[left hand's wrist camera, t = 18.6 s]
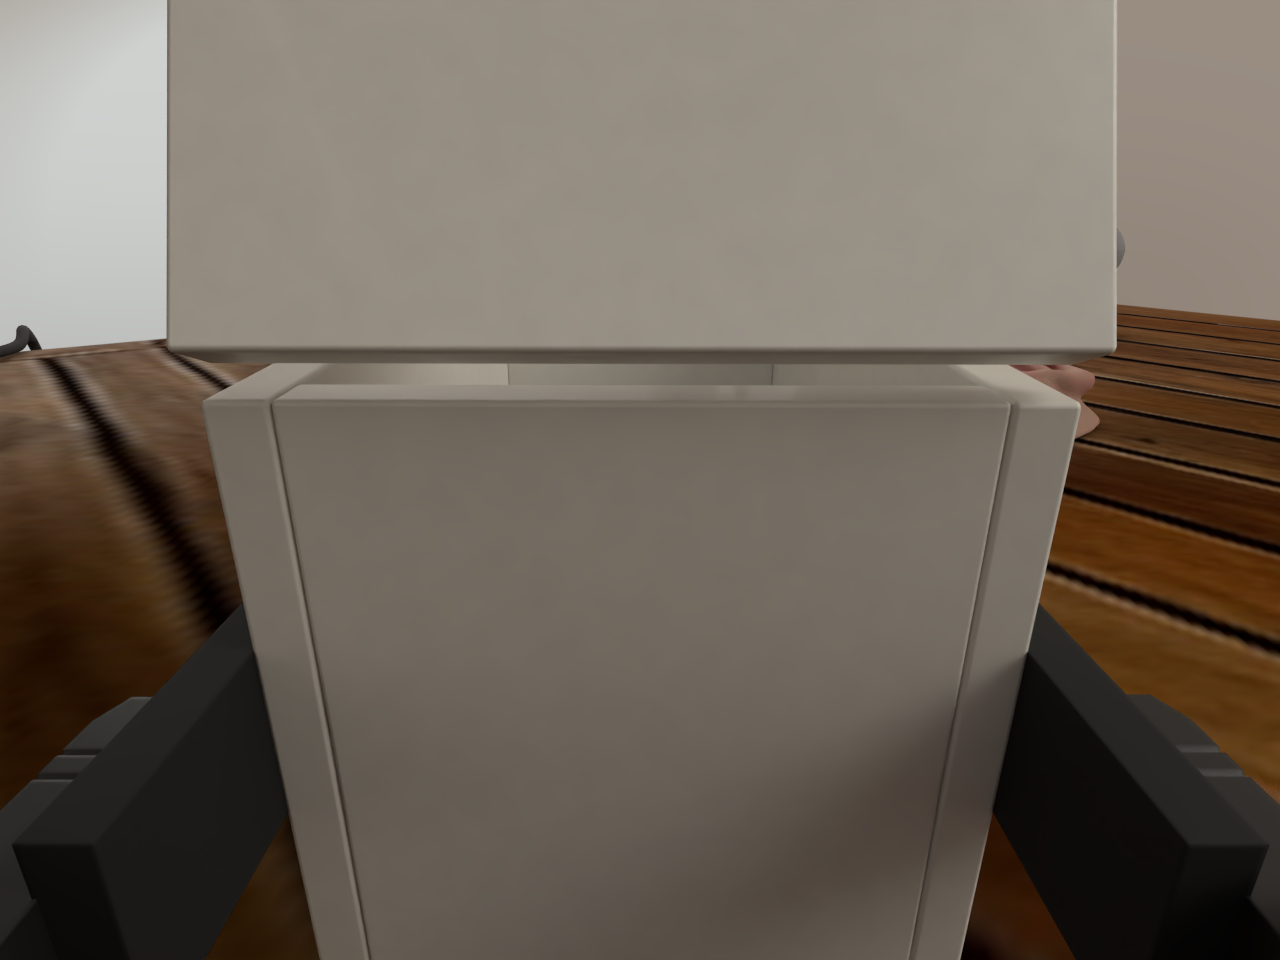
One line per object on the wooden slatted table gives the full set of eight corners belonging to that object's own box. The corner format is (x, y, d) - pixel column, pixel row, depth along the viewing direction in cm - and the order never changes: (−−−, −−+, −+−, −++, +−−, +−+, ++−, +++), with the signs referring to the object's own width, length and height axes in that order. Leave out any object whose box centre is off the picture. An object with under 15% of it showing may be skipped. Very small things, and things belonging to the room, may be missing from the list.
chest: (501, 561, 28) (479, 253, 24) (778, 561, 28) (802, 254, 24) (332, 1034, 13) (195, 400, 9) (946, 1034, 13) (1086, 402, 9)
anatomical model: (1130, 376, 39) (892, 358, 43) (1113, 451, 40) (884, 427, 44) (1095, 333, 51) (910, 322, 55) (1083, 393, 52) (903, 378, 56)
